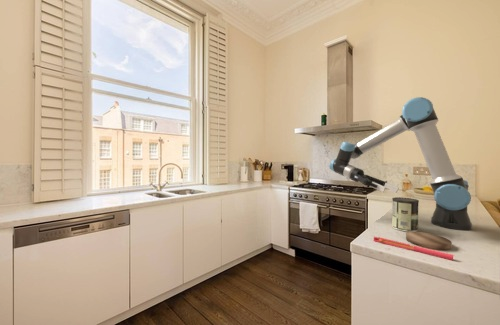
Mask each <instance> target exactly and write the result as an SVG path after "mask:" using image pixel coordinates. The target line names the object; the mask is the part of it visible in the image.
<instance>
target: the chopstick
mask: <svg viewBox="0 0 500 325" xmlns="http://www.w3.org/2000/svg"><path fill="white" fill-rule="evenodd" d="M373 242H377V243H381V244H385V245H390V246H392V247H398V248H402V249H405V250H409V251H410V250H411V251H414V252H417V253H422V254H426V255H430V256H434V257H437V258H441V259H446V260H449V261H454V256H455V257H456V255H455V254H452V253H448V252H443V251H441V250H434V249H428V248H424V247H420V246H417V245H414V244H411V243H405V242H401V241H398V240H393V239H387V238H383V237H380V236H374V237H373Z"/></svg>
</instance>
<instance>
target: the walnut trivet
mask: <svg viewBox="0 0 500 325" xmlns="http://www.w3.org/2000/svg"><path fill="white" fill-rule="evenodd" d="M405 240H406V242H408V243H409V244H411V245H415V246H419V247H423V248H427V249H432V250H436V251H450V250H452V243H453V242H452V241H451V240H450V239H448V238H446V237H444V236H442V235H438V234H433V233H428V232H422V231H417V232H406V234H405Z"/></svg>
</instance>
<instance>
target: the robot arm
mask: <svg viewBox="0 0 500 325" xmlns="http://www.w3.org/2000/svg"><path fill="white" fill-rule="evenodd" d="M438 122H439V118H438V115H437V113H436V111H435V109H434V105H433V102H432V101H431V100H429V99H428V98H426V97H423V96H422V97H419V96H418V97H417V96H416V97H414V98H411V99H409V100H408V101H406V102H405V103H404V105H403V107H402V110H401V115H400V116H399V117H398V119H396V120H394V121H393V122H391V123H390V124H388V125H385V127H382V128H381V129H378V130H377V131H376V132H374V133H372V134H370V135H368V136H366V137H365V138H363V139H362V140H360V141H359V142H357V143H355V144H354V143H351V142H348V141H342V143H341V146H340V148H339V151H338V153H337V156H336V158H334V159H332V160H331V161H330V163H329V165H328V167H329V169H330V171H332V172H334V173H336V174H338V175H339V176H340V175H341V176H343V177H346V178H345V179H349V180H351V181H352V182H355V183H361V184H362V185H364V186H366V187H367V188H373V189H375V190H377V191H380V192H381V193H384V192H385V190H390V191H391V192H393V193H397V192H398V190H399V187H397V186H396V185H393V184H391V183H389V182H388V181H387V180H381V179H379V178H376V177H373V176H372V175H368V174H365V171H364V170H363V169H362V168H359V167H357V166H354V165H351V164H350V161H351V159H353V160H354V159H358V158H360V157H361V156H362V155H364V154H366V153H367V152H369V151H371V150H372V149H375V148H377V147H378V146H381V145H382V144H384V143H386V142H387V141H389V140H391V139H393V138H395V137H396V136H399V135H400V134H402V133H404V132H406V131H408V132H410V131H411V132H414V136H415V137H416V140H417V142H418V146H419V147H420V150H421V153H422V155H423V157H424V160H425V163H426V166H427V168H428V171H429V173H430V176H431V178H432V179H431V180H430V182H429V184H430V187H431V190H432V192H433V196H434V197H433V198H434V201H435V208H434V211H433V213H432V216H431V218H430V219H431V220H430V223H431V224H433V225H435V226H438V227H441V228H446V229H447V228H448V229H454V230H461V231H469V230H472V229H473V223H472V221H471V219H470V216H469V214H468V206H469V204H470V203H471V201H472V196H471V193H470V192H469V182H468V180H465V179H463V176H462V175H458V174H457V172H456V170H455V168H454V166H453V164H452V160H451V159H450V156H449V154H448V151H447V149H446V146H445V144H444V142H443V139H442V137H441V134H440V131H439V129H438V127H437V123H438Z"/></svg>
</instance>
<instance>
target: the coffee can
mask: <svg viewBox="0 0 500 325" xmlns="http://www.w3.org/2000/svg"><path fill="white" fill-rule="evenodd" d="M419 203H420V200H419V199H417V198H411V197H398V196H397V197H392V210H391V211H392V212H391V214H392V216H391V217H392V219H391V220H392V222H391V227H392V228H393V229H395V230H397V231H400V232H406V233H408V232H419Z"/></svg>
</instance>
